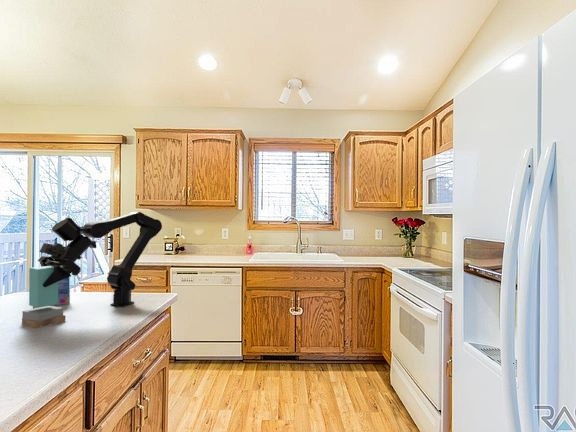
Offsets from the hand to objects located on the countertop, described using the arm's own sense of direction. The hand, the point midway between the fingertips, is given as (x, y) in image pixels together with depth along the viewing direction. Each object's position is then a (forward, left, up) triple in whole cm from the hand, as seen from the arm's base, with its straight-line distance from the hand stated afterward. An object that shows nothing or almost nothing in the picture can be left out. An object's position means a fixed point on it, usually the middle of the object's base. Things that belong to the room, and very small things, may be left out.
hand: (39, 285), depth 112 cm
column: (-1, +1, -7) cm, 7 cm away
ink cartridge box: (-23, -18, -13) cm, 32 cm away
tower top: (-1, +1, -11) cm, 11 cm away
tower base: (-1, +1, -13) cm, 13 cm away
